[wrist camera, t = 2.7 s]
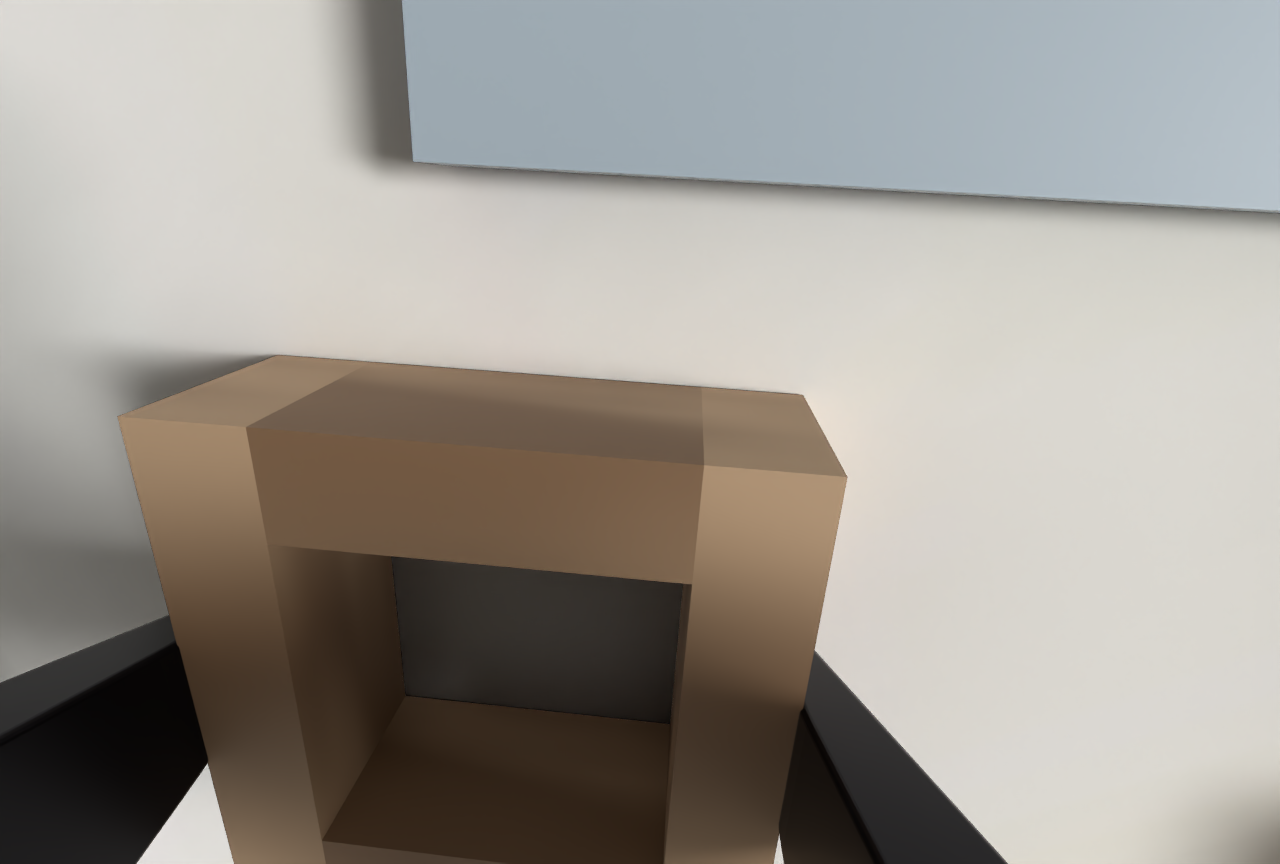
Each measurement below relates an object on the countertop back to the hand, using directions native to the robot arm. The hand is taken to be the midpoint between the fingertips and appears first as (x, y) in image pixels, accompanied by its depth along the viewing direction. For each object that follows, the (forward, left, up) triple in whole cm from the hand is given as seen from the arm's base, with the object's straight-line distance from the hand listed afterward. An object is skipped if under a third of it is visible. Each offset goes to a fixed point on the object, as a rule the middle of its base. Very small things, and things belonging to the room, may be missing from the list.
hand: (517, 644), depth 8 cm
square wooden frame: (0, 0, -1) cm, 1 cm away
